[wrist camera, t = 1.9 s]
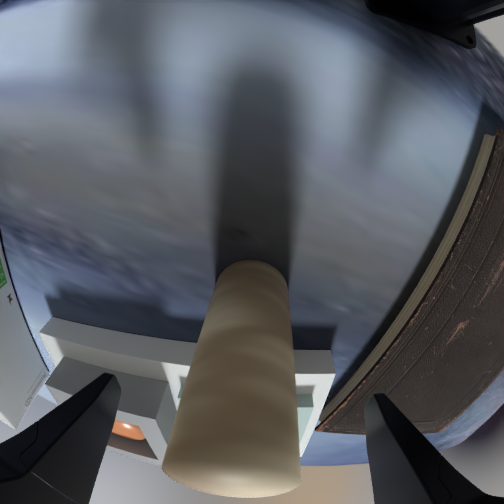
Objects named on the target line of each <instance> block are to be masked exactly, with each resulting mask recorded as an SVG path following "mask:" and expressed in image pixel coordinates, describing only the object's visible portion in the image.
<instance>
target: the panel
mask: <svg viewBox="0 0 504 504" xmlns="http://www.w3.org/2000/svg"><path fill="white" fill-rule="evenodd" d="M39 334H40V336H41V338H42V340H43V342H44V344H45V346H46V348H47V350H48V352H49V354H50V356H51V358H52V360H53V362H54V364H55V366H56V368H55V370H54V371H53V373H52V374H51V375H50V377H49V378H48V380H47V381H46V383H45V385H46V387H47V388H48V390H49V392H50V393H51V395H52V396H53V398H54V399H55V400H56V402H57V403H58V405H60V404H62V403H63V402H64V401H66V400H67V399H68V398H70V397H71V396H73V395H74V394H75V393H77V392H78V391H79V390H81V389H82V388H83V387H85V386H86V385H88V384H89V383H90V382H92V381H93V380H94V379H96V378H97V377H99V376H100V375H101V374H103V373H105V372H107V373H111V374H114V375H115V376H116V378H117V380H118V382H119V384H120V387H121V397H120V401H119V405H118V409H117V413H116V418H115V420H119V421H122V422H126V423H129V424H133V425H137V426H139V427H140V429H141V431H142V433H143V434H144V436H145V439H143V440H132V439H128V438H125V437H122V436H119V435H117V434H115V433H113V432H111V435H110V438H109V441H108V444H107V447H106V450H108V451H111V452H114V453H117V454H120V455H124V456H126V457H130V458H133V459H137V460H140V461H144V462H148V463H152V464H156V465H160V466H162V463H163V459H164V456H165V452H166V448H167V445H168V441H169V437H170V434H171V430H172V427H173V423H174V420H175V416H176V413H177V409H178V406H179V402H180V399H181V396H182V392H183V389H184V385H185V382H186V379H187V375H188V372H189V369H190V365H191V362H192V359H193V355H194V352H195V349H196V346H197V343H192V342H184V341H176V340H168V339H161V338H155V337H148V336H142V335H136V334H130V333H124V332H119V331H114V330H108V329H103V328H98V327H94V326H89V325H84V324H80V323H76V322H71V321H67V320H63V319H59V318H55V317H52V318H51V319H50V320H49V321H48V323H47V324H46V325H45V326H44V327H43V328H42V329H41V331H40V332H39ZM293 352H294V365H295V379H296V394H297V410H298V428H299V448H300V457H302V455H303V452H304V450H305V448H306V446H307V444H308V442H309V439H310V437H311V435H312V433H313V430H314V428H315V426H316V423H317V421H318V418H319V416H320V414H321V411H322V409H323V406H324V404H325V401H326V398H327V396H328V393H329V391H330V388H331V385H332V382H333V380H334V377H335V374H336V373H335V368H334V363H333V359H332V354H331V350H293Z"/></svg>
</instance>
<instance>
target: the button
mask: <svg viewBox="0 0 504 504" xmlns="http://www.w3.org/2000/svg"><path fill="white" fill-rule="evenodd" d="M112 432H113V433H115V434H117V435H119V436H122V437H125V438H128V439H132V440H143V439H145V436H144V434H143V433H142V431H141V429H140V427H139V426H137V425H133V424H129V423H126V422H122V421H119V420H115V422H114V426H113V429H112Z"/></svg>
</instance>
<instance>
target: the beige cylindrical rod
mask: <svg viewBox="0 0 504 504" xmlns="http://www.w3.org/2000/svg"><path fill="white" fill-rule="evenodd" d="M162 470H163V472H164V473H165V474H166V475H167V476H168V477H170V478H171V479H173V480H174V481H176V482H178V483H180V484H182V485H185V486H187V487H189V488H192V489H195V490H199V491H202V492H206V493H210V494H215V495H222V496H229V497H245V498H247V497H248V498H251V497H252V498H253V497H266V496H274V495H278V494H282V493H286V492H289V491H291V490H293V489H295V488H296V487H298V486H299V485H300V483H301V476H300V448H299V428H298V410H297V394H296V379H295V365H294V352H293V340H292V328H291V317H290V306H289V295H288V286H287V282H286V280H285V278H284V276H283V275H282V274H281V273H280V271H279V270H277V269H276V268H275V267H274V266H272V265H270V264H268V263H266V262H263V261H259V260H242V261H238V262H236V263H233V264H231V265H229V266H228V267H227V268H225V269H224V270H223V271H222V273H221V274H220V276H219V277H218V280H217V282H216V285H215V288H214V292H213V295H212V298H211V301H210V304H209V307H208V310H207V314H206V317H205V320H204V323H203V326H202V329H201V333H200V336H199V339H198V342H197V346H196V349H195V352H194V355H193V359H192V362H191V365H190V369H189V372H188V375H187V379H186V382H185V385H184V389H183V392H182V396H181V399H180V402H179V406H178V409H177V413H176V416H175V420H174V423H173V427H172V430H171V434H170V437H169V441H168V445H167V448H166V452H165V456H164V459H163V463H162Z"/></svg>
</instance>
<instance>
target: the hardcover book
mask: <svg viewBox="0 0 504 504" xmlns="http://www.w3.org/2000/svg"><path fill="white" fill-rule="evenodd" d="M503 369H504V131H503V130H502V129H501V128H497V132H496V136H490V135H488V134H484V138H483V141H482V144H481V147H480V151H479V154H478V157H477V160H476V162H475V165H474V168H473V171H472V174H471V176H470V179H469V181H468V184H467V187H466V189H465V192H464V194H463V196H462V199H461V201H460V203H459V206H458V208H457V210H456V213H455V215H454V217H453V219H452V221H451V223H450V226H449V228H448V230H447V232H446V234H445V236H444V238H443V240H442V242H441V244H440V246H439V248H438V249H437V251H436V253H435V255H434V257H433V259H432V261H431V262H430V264H429V266H428V268H427V270H426V271H425V273H424V275H423V276H422V278H421V280H420V282H419V283H418V285H417V287H416V288H415V290H414V291H413V293H412V295H411V296H410V298H409V299H408V301H407V303H406V304H405V306H404V307H403V309H402V310H401V312H400V313H399V315H398V316H397V318H396V319H395V321H394V322H393V323H392V325H391V326H390V328H389V329H388V331H387V332H386V333H385V335H384V336H383V338H382V339H381V340H380V342H379V343H378V344H377V346H376V347H375V348H374V350H373V351H372V352H371V354H370V355H369V356H368V357H367V359H366V360H365V361H364V362H363V364H362V365H361V366H360V367H359V369H358V370H357V371H356V372H355V374H354V375H353V376H352V377H351V378H350V379H349V381H348V382H347V383H346V384H345V385H344V386H343V388H342V389H341V390H340V391H339V392H338V393H337V394H336V395H335V397H334V398H333V399H332V400H331V401H330V402H329V403H328V404H327V405H326V406H325V407H324V409H323V410H322V411H321V414H320V417H319V420H320V421H321V423H320V424H319V425H318V426H317V427H316V428H315V431H319V432H329V433H342V434H361V435H366V426H365V407H366V405H367V403H368V401H369V399H370V398H371V396H372V395H373V394H376V393H384V394H385V395H386V396H387V397H388V398H389V399H390V400H391V401H392V402H393V403H394V404H395V405H396V406H397V407H398V409H399V410H400V411H401V412H402V413H403V414H404V415H405V416H406V417H407V418H408V419H409V420H410V421H411V422H412V424H413V425H414V426H415V427H416V428H417V429H418V430H419V431H420V432H421V433H422V434H424V433H436V432H442V431H443V430H444V429H445V428H446V427H447V426H449V425H450V424H451V423H452V422H453V421H454V420H455V419H457V418H458V417H459V416H460V415H461V414H462V413H463V412H464V411H465V410H466V409H467V408H468V407H469V406H470V405H471V404H472V403H473V402H474V401H475V400H476V399H477V398H478V397H479V396H480V395H481V394H482V393H483V392H484V391H485V390H486V389H487V388H488V387H489V386H490V385H491V383H492V382H493V381H494V380H495V379H496V378H497V377H498V375H499V374H500V373H501V372H502V371H503Z"/></svg>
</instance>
